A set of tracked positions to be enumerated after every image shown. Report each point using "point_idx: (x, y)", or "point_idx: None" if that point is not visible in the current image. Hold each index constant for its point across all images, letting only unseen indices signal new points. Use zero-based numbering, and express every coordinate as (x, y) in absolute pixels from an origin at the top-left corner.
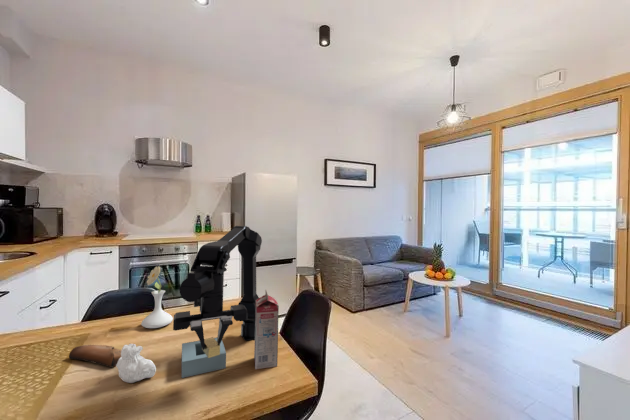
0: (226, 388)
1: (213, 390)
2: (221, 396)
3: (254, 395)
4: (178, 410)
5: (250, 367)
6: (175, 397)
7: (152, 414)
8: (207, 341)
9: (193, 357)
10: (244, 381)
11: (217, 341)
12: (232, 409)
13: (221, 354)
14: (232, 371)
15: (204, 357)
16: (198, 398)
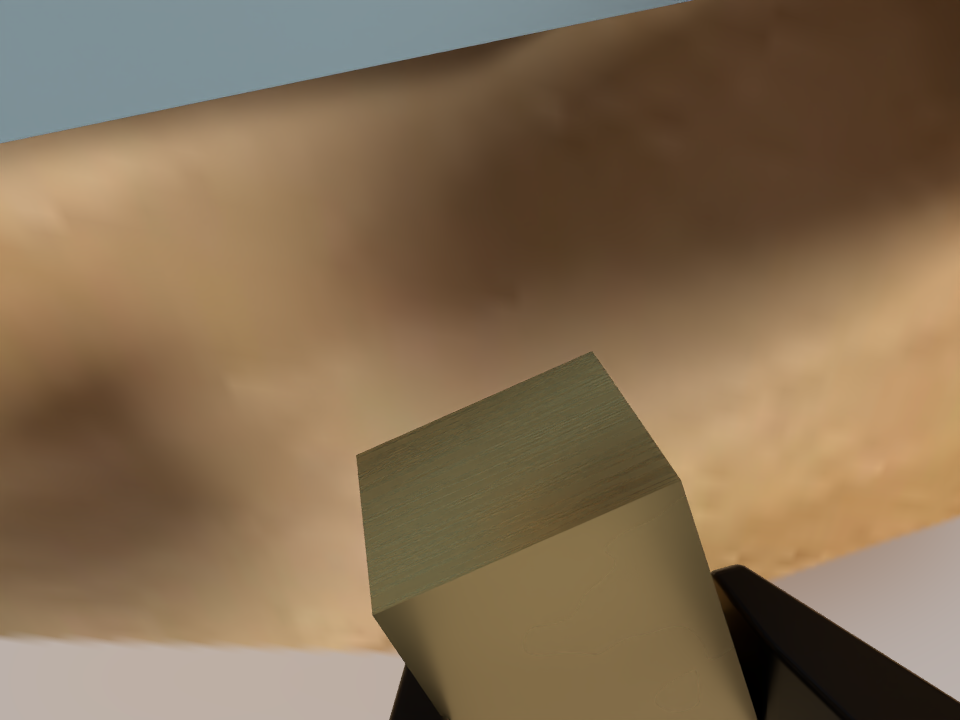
0: None
1: None
2: None
3: (825, 511)
4: (225, 612)
5: (941, 46)
6: (122, 463)
7: (3, 637)
8: (534, 695)
9: (112, 16)
10: (800, 320)
11: (764, 699)
12: None
13: (665, 2)
14: (717, 89)
15: (352, 67)
16: None
